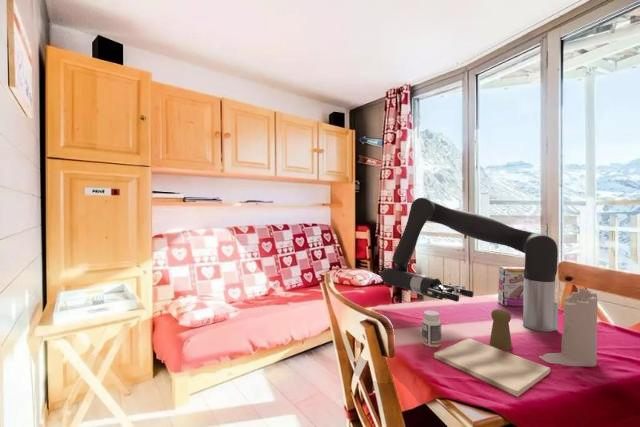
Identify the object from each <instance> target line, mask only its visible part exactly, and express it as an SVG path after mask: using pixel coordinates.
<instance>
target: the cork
mask: <svg viewBox="0 0 640 427" xmlns="http://www.w3.org/2000/svg"><path fill="white" fill-rule="evenodd" d="M490 315H491V319H492V326H491V327H492V328H491V333H490V338H489V339H490V340H489V346H492V347H495V348H497V349H500V350H503V351H511V350H513V344H512V338H511V331H510V324H509V323H510V322H511V319H512V316H511V314H510V312H508V311H507V310H504V309H498V308H497V309H494V310H492V312H491V314H490Z"/></svg>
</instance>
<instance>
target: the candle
mask: <svg viewBox="0 0 640 427" xmlns="http://www.w3.org/2000/svg"><path fill="white" fill-rule="evenodd" d="M563 322H564V323H563V329H562V330H563V331H562V337H561V351H560V352H550V353H549V352H548V353H544V355H539V356H538V358H539V359H541V360H542V361H544V362H545V363H549V364H555V365H556V364H557V365H562V366H565V367H568V366H569V367H589V368H590V367H591V368H592V367H596V366H597V355H598V354H597V351H598V350H597V344H598V343H597V340H598V336H597V335H598V294H597V293H596V292H594V291H592V290H590V289H588V288H584V287H579V288H578V292H577V291H571V293H570V295H568V296H565V297H564V304H563Z"/></svg>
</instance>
